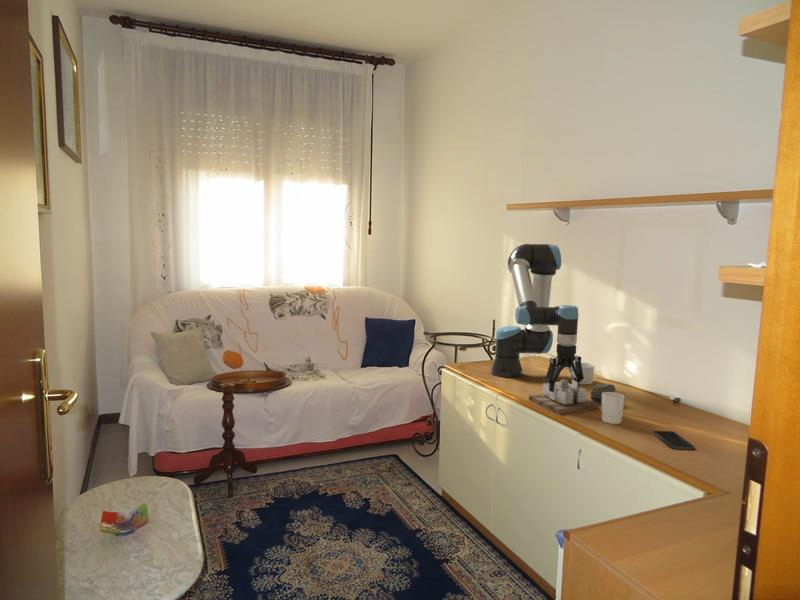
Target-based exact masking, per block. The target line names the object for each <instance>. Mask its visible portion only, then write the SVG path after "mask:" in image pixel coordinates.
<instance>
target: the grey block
mask: <svg viewBox="0 0 800 600" xmlns="http://www.w3.org/2000/svg"><path fill="white" fill-rule="evenodd" d="M555 384H557V385H556V400H555V401H557V402H560V403H562V404H564V405H568V404H573V402H576V403H584V402H585V398H586V397H587V395H586V394H587V389H584V388H582V387H580V386H579V387H577V386H574V385H572V383H569V382H568V388H561V387H560V384H561V380H560V381H556V382H555ZM573 393H574V398H573ZM542 394H543V395H544V396H546V397H548V398H550V391H549V383H548V382H543V384H542ZM586 399H587V398H586Z"/></svg>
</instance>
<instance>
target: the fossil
mask: <svg viewBox="0 0 800 600" xmlns="http://www.w3.org/2000/svg"><path fill="white" fill-rule="evenodd" d="M604 392H615V393H617V389H616V387H615V385H614V384H611V383H603V382H600V383H598V384H597V385H595V386H593V387H592V388H591V390H590V392H589V393H590V399H591V401H593V402H596V403H598V404H600V406H602V393H604Z"/></svg>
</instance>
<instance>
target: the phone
mask: <svg viewBox="0 0 800 600" xmlns="http://www.w3.org/2000/svg"><path fill="white" fill-rule="evenodd" d="M652 435H653V436H655V437H656V438H657V439H658V440H659V441H661V442H662V443H663V444H664V445H665V446H666V447H668V448H669V449H671V450H677V451H678V450H679V451H680V450H681V451H682V450H683V451H688V450H689V451H694V450H695V446H694V444H691V442H689V441H688V440H686V439H685V438H683V437H682V436H681V435H679V434H678V433H677V432H675V431H669V430H667V431H665V430H652Z"/></svg>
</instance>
